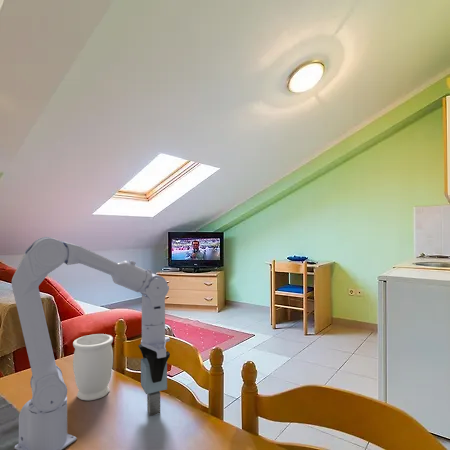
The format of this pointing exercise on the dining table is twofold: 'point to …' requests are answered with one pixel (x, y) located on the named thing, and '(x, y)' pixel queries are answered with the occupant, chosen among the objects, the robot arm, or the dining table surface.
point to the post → (153, 403)
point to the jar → (93, 365)
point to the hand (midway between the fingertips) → (153, 376)
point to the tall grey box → (147, 380)
